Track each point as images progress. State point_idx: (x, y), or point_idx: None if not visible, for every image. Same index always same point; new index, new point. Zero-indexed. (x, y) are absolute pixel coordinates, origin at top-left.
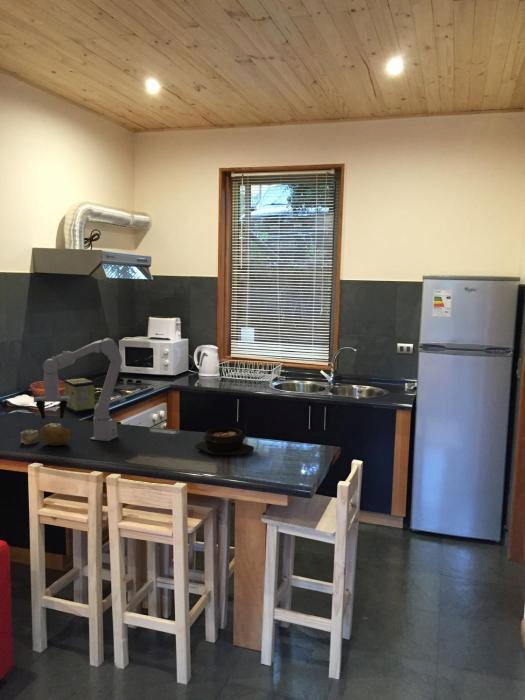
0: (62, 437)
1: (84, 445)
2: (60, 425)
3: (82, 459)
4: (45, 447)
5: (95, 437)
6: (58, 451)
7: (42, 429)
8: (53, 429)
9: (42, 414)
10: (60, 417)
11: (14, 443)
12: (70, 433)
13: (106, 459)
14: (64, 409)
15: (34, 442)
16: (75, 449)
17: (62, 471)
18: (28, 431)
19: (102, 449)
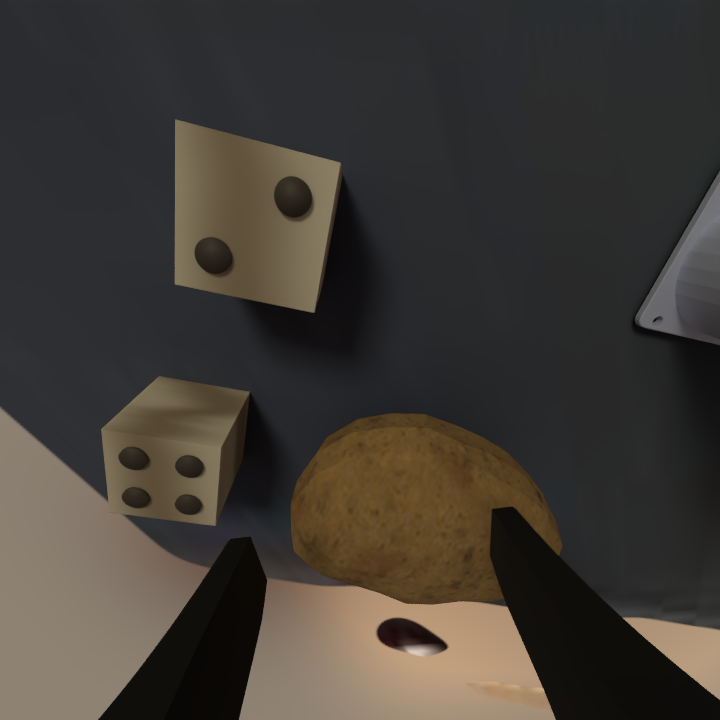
0: None
1: (596, 444)
2: (337, 178)
3: None
4: None
5: (692, 324)
6: None
7: (326, 575)
8: (439, 601)
9: (243, 667)
10: (498, 576)
11: None
12: (558, 535)
13: (707, 600)
14: (626, 640)
15: (244, 434)
16: (550, 508)
17: (539, 689)
18: (155, 482)
19: (704, 497)
